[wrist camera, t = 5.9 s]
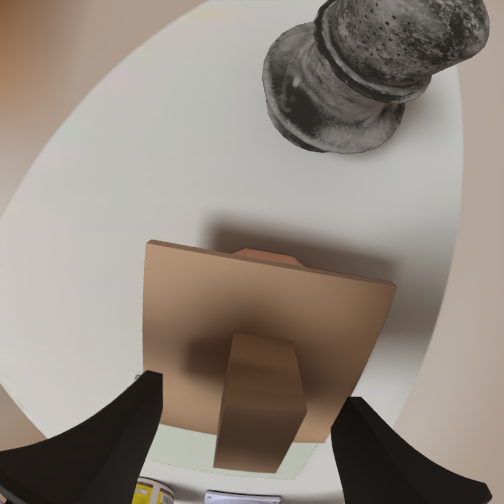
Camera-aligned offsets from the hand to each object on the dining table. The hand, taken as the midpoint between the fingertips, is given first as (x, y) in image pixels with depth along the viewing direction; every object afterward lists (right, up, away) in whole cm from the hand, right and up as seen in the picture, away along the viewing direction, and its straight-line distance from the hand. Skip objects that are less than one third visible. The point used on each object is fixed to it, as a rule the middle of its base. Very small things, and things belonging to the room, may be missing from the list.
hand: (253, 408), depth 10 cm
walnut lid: (0, +1, +3) cm, 3 cm away
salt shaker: (+3, +13, +3) cm, 14 cm away
